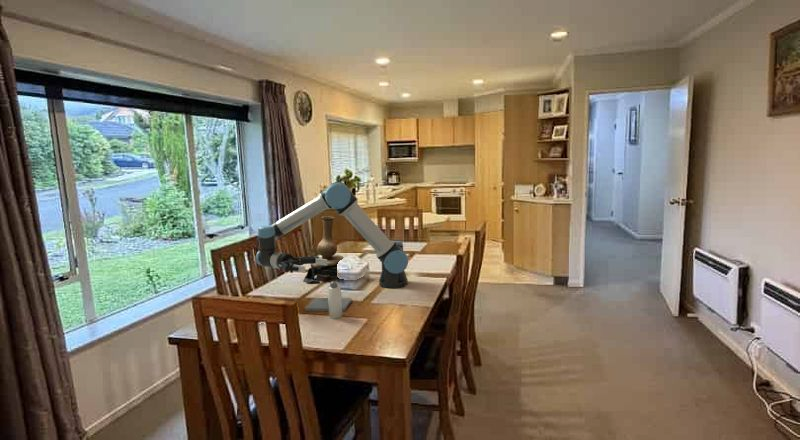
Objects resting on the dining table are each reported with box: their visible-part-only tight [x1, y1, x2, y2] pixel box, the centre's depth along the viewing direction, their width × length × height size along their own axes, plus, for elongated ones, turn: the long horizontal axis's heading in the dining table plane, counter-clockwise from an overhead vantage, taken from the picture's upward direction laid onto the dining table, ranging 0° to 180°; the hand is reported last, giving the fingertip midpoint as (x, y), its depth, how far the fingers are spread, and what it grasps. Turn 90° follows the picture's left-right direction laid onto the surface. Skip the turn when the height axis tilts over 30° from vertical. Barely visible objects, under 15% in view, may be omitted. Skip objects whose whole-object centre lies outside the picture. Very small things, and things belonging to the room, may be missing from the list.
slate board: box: [304, 297, 353, 312], centre depth 195 cm, size 18×14×1 cm
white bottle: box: [327, 281, 343, 320], centre depth 181 cm, size 6×6×15 cm
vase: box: [302, 215, 345, 285], centre depth 241 cm, size 24×22×35 cm
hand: (316, 266), depth 185 cm, fingers open, 13 cm apart
